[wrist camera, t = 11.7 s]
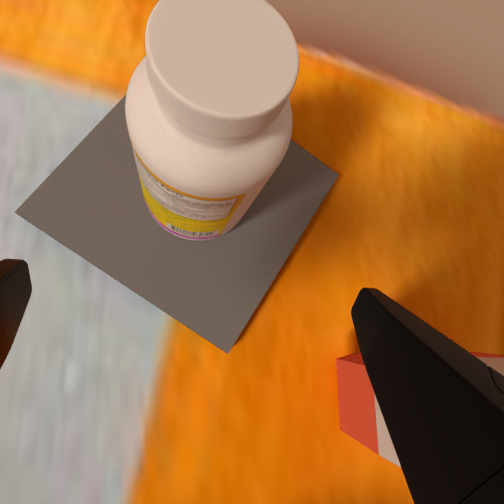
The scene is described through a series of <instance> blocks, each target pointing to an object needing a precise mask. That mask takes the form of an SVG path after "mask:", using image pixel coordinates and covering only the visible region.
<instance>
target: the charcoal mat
mask: <svg viewBox="0 0 504 504" xmlns="http://www.w3.org/2000/svg"><path fill="white" fill-rule="evenodd" d="M125 101H126V95H125V96H124V97H123V98H122V99H121V100H120V102H119V103H118V104H117V105H116V106H115V107H114V108H113V109H112V110H111V111H110V112H109V113H108V114H107V115H106V116H105V117H104V118H103V119H102V121H101V122H100V123H99V124H98V125H97V126H96V127H95V128H94V129H93V130H92V131H91V132H90V133H89V134H88V135H87V136H86V137H85V138H84V140H83V141H82V142H81V143H80V144H79V145H78V146H77V147H76V148H75V149H74V150H73V151H72V152H71V153H70V154H69V155H68V156H67V157H66V158H65V160H64V161H63V162H62V163H61V164H60V165H59V166H58V167H57V168H56V169H55V170H54V171H53V172H52V173H51V174H50V175H49V176H48V177H47V179H46V180H45V181H44V182H43V183H42V184H41V185H40V186H39V187H38V188H37V189H36V190H35V191H34V192H33V193H32V194H31V195H30V196H29V198H28V199H27V200H26V201H25V202H24V203H23V204H22V205H21V206H20V207H19V208H18V209H17V210H16V211H15V213H16V214H18V215H19V216H21V217H22V218H24V219H25V220H27V221H28V222H30V223H31V224H33V225H34V226H36V227H37V228H39V229H40V230H42V231H43V232H45V233H46V234H48V235H49V236H51V237H52V238H54V239H55V240H57V241H58V242H60V243H61V244H63V245H64V246H66V247H67V248H69V249H70V250H72V251H73V252H75V253H76V254H78V255H80V256H81V257H83V258H84V259H86V260H87V261H89V262H90V263H92V264H93V265H95V266H96V267H98V268H99V269H101V270H102V271H104V272H105V273H107V274H108V275H110V276H111V277H113V278H114V279H116V280H117V281H119V282H120V283H122V284H123V285H125V286H126V287H128V288H129V289H131V290H132V291H134V292H135V293H137V294H138V295H140V296H141V297H143V298H144V299H146V300H147V301H149V302H150V303H152V304H154V305H155V306H157V307H158V308H160V309H161V310H163V311H164V312H166V313H167V314H169V315H170V316H172V317H173V318H175V319H176V320H178V321H179V322H181V323H182V324H184V325H185V326H187V327H188V328H190V329H191V330H193V331H194V332H196V333H197V334H199V335H200V336H202V337H203V338H205V339H206V340H208V341H209V342H211V343H212V344H214V345H215V346H217V347H218V348H220V349H221V350H223V351H224V352H226V353H229V351H230V350H231V348H232V346H233V345H234V343H235V342H236V340H237V338H238V337H239V335H240V334H241V332H242V330H243V329H244V327H245V325H246V324H247V322H248V321H249V319H250V317H251V316H252V314H253V313H254V311H255V309H256V308H257V306H258V305H259V303H260V301H261V300H262V298H263V296H264V295H265V293H266V292H267V290H268V288H269V287H270V285H271V284H272V282H273V280H274V279H275V277H276V276H277V274H278V272H279V271H280V269H281V267H282V266H283V264H284V263H285V261H286V259H287V258H288V256H289V255H290V253H291V251H292V250H293V248H294V247H295V245H296V243H297V242H298V240H299V238H300V237H301V235H302V234H303V232H304V230H305V229H306V227H307V226H308V224H309V222H310V221H311V219H312V218H313V216H314V214H315V213H316V211H317V209H318V208H319V206H320V205H321V203H322V201H323V200H324V198H325V197H326V195H327V193H328V192H329V190H330V189H331V187H332V185H333V184H334V182H335V180H336V179H337V177H338V176H339V175H338V174H337V173H336V172H334V171H333V170H332V169H330V168H329V167H328V166H326V165H325V164H324V163H322V162H321V161H320V160H318V159H317V158H316V157H314V156H313V155H312V154H310V153H309V152H308V151H306V150H305V149H304V148H302V147H301V146H300V145H298V144H297V143H296V142H294V141H293V140H292V139H290V143H289V146H288V149H287V151H286V154H285V156H284V158H283V159H282V161H281V163H280V164H279V166H278V167H277V169H276V170H275V171H274V173H273V174H272V176H271V177H270V178H269V180H268V181H267V183H266V184H265V185H264V187H263V188H262V190H261V191H260V192H259V194H258V195H257V197H256V198H255V200H254V201H253V202H252V204H251V205H250V207H249V208H248V210H247V211H246V213H245V214H244V215H243V217H242V218H241V219H240V221H239V222H238V223H237V224H236V225H235V226H234V227H233V228H232V229H231V230H230V231H228V232H227V233H225V234H223V235H221V236H219V237H216V238H213V239H209V240H201V241H196V240H187V239H183V238H180V237H178V236H175V235H173V234H171V233H170V232H168V231H167V230H165V229H164V228H163V227H161V226H160V225H159V224H158V223H157V221H156V220H155V219H154V218H153V216H152V215H151V213H150V211H149V209H148V207H147V205H146V202H145V199H144V195H143V191H142V186H141V182H140V178H139V173H138V169H137V165H136V161H135V157H134V152H133V148H132V144H131V140H130V136H129V132H128V127H127V123H126V115H125Z"/></svg>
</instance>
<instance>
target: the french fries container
mask: <svg viewBox="0 0 504 504" xmlns="http://www.w3.org/2000/svg"><path fill="white" fill-rule="evenodd" d="M469 353H471V354H472V355H474V356H475V357H477V358H478V359H480V360H481V361H483V362H484V363H486V364H487V366H490V367H491V368H493V369H494V370H496V371H497V372H499V373H500V374H502V375H503V376H504V355H496V354H487V353H478V352H469ZM336 363H337V381H338V399H339V417H340V430H342V431H343V432H345V433H346V434H348V435H349V436H351V437H352V438H354V439H355V440H357V441H359V442H360V443H362V444H363V445H365V446H366V447H368V448H369V449H371V450H372V451H374V452H375V453H377V454H378V455H380V456H382V457H383V458H385V459H387V460H389V461H390V462H392V463H394V464H396V465H397V466H399V467H401V465H400V462H399V460H398V457H397V454H396V451H395V449H394V446H393V443H392V440H391V438H390V435H389V432H388V429H387V426H386V424H385V421H384V418H383V415H382V413H381V410H380V407H379V404H378V402H377V399H376V396H375V393H374V391H373V388H372V385H371V382H370V379H369V377H368V374H367V371H366V368H365V365H364V362H363V359H362V356H361V353H354V354H350V355H347V356H344V357H340V358H337V359H336Z"/></svg>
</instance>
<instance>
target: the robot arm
mask: <svg viewBox="0 0 504 504" xmlns="http://www.w3.org/2000/svg"><path fill="white" fill-rule="evenodd" d="M31 292H32V285H31V280H30V274H29V269H28V264H27V262H26V261H24V260H19V259H4V260H2V261H0V369H1V367H2V365H3V363H4V361H5V359H6V357H7V355H8V353H9V351H10V349H11V346H12V344H13V342H14V339H15V336H16V334H17V331H18V328H19V326H20V323H21V320H22V318H23V315H24V312H25V310H26V307H27V304H28V302H29V299H30V296H31ZM351 315H352V319H353V324H354V328H355V332H356V336H357V340H358V344H359V348H360V352H361V356H362V359H363V362H364V365H365V368H366V371H367V374H368V377H369V379H370V382H371V385H372V388H373V391H374V393H375V396H376V399H377V402H378V404H379V407H380V410H381V413H382V415H383V418H384V421H385V424H386V426H387V429H388V432H389V435H390V438H391V440H392V443H393V446H394V449H395V451H396V454H397V457H398V460H399V462H400V465H401V468H402V471H403V473H404V476H405V479H406V482H407V485H408V487H409V490H410V493H411V496H412V498H413V501H414V504H504V376H503V375H502V374H500V373H499V372H497V371H496V370H494V369H493V368H491V367H490V366H487V364H486V363H484V362H483V361H481V360H480V359H478V358H477V357H475V356H474V355H472V354H471V353H469V352H468V351H467V350H465V349H464V348H462V347H461V346H459V345H458V344H456V343H455V342H453V341H452V340H451V339H449V338H448V337H446V336H445V335H443V334H442V333H440V332H439V331H437V330H436V329H435V328H433V327H432V326H430V325H429V324H427V323H426V322H424V321H423V320H421V319H420V318H419V317H417V316H416V315H414V314H413V313H411V312H410V311H408V310H407V309H405V308H404V307H402V306H401V305H400V304H398V303H397V302H395V301H394V300H392V299H391V298H389V297H388V296H386V295H385V294H384V293H382V292H381V291H379V290H378V289H375V288H362V289H361V290H360V292H359V294H358V296H357V298H356V300H355V302H354V305H353V307H352V310H351Z"/></svg>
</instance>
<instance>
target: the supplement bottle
mask: <svg viewBox="0 0 504 504" xmlns="http://www.w3.org/2000/svg"><path fill="white" fill-rule="evenodd" d="M145 46H146V57H145V58H144V59H143V60H142V61H141V62H140V64H139V65H138V66H137V68H136V70H135V71H134V73H133V75H132V77H131V80H130V82H129V86H128V89H127V94H126V101H125V115H126V123H127V127H128V132H129V136H130V140H131V144H132V148H133V152H134V157H135V161H136V165H137V169H138V173H139V178H140V182H141V186H142V191H143V195H144V199H145V202H146V205H147V207H148V209H149V211H150V213H151V215H152V216H153V218H154V219H155V220H156V221H157V223H158V224H159V225H160V226H161V227H163V228H164V229H165V230H167V231H168V232H170V233H171V234H173V235H175V236H178V237H180V238H183V239H187V240H196V241H201V240H209V239H213V238H216V237H219V236H221V235H223V234H225V233H227V232H228V231H230V230H231V229H232V228H233V227H234V226H235V225H236V224H237V223H238V222H239V221H240V219H241V218H242V217H243V215H244V214H245V213H246V211H247V210H248V208H249V207H250V205H251V204H252V202H253V201H254V200H255V198H256V197H257V195H258V194H259V192H260V191H261V190H262V188H263V187H264V185H265V184H266V183H267V181H268V180H269V178H270V177H271V176H272V174H273V173H274V171H275V170H276V169H277V167H278V166H279V164H280V163H281V161H282V159H283V158H284V156H285V154H286V151H287V149H288V146H289V143H290V139H291V134H292V110H291V105H290V101H289V96H290V94H291V92H292V90H293V88H294V85H295V83H296V80H297V76H298V71H299V53H298V48H297V44H296V41H295V38H294V36H293V33H292V31H291V30H290V28H289V26H288V25H287V23H286V21H285V20H284V19H283V18H282V16H281V15H280V14H279V13H278V12H277V11H276V10H275V9H274V8H273V7H272V6H271V5H270V4H268V3H267V2H266V1H265V0H160V1H159V2H158V3H157V5H156V6H155V7H154V9H153V10H152V12H151V14H150V16H149V19H148V22H147V26H146V34H145Z"/></svg>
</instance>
